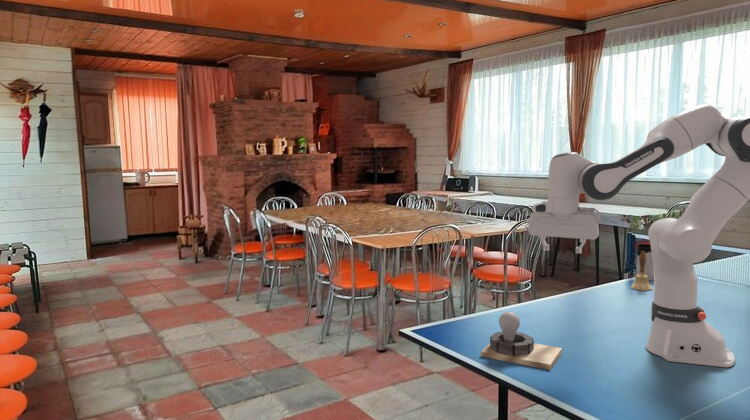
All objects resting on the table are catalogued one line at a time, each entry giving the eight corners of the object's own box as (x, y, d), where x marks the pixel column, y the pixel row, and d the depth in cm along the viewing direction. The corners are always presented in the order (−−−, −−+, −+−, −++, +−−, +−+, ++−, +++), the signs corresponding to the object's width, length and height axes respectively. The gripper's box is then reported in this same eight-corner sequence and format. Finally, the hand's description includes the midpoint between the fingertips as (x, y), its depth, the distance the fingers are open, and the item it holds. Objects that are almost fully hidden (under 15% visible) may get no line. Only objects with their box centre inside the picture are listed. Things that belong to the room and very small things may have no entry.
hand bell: (628, 285, 234) (629, 249, 233) (648, 285, 233) (649, 249, 231) (634, 290, 226) (635, 253, 224) (655, 290, 225) (657, 253, 223)
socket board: (561, 352, 160) (562, 338, 160) (550, 369, 148) (550, 354, 148) (496, 341, 171) (496, 327, 170) (480, 356, 159) (481, 341, 158)
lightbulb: (507, 353, 157) (508, 316, 156) (494, 346, 162) (494, 310, 161) (523, 349, 160) (524, 313, 158) (509, 342, 165) (510, 307, 164)
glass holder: (638, 279, 244) (639, 247, 242) (628, 272, 257) (630, 241, 256) (659, 280, 242) (660, 247, 240) (648, 273, 256) (649, 241, 254)
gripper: (602, 206, 159) (600, 252, 161) (532, 204, 170) (531, 247, 172) (598, 209, 154) (597, 256, 156) (526, 206, 165) (526, 250, 166)
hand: (562, 251), depth 164 cm, fingers open, 8 cm apart
